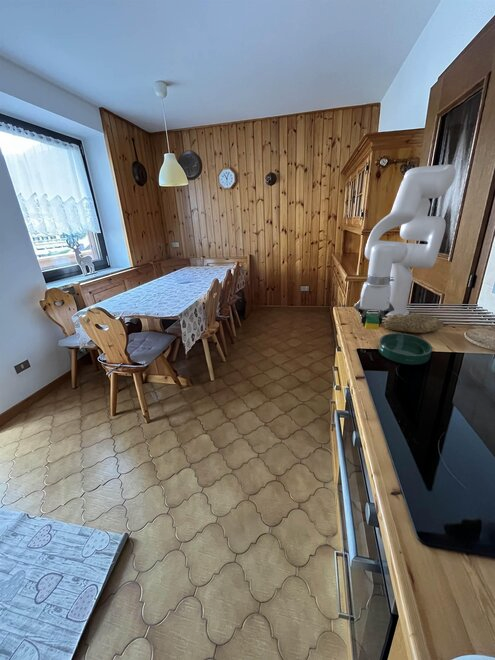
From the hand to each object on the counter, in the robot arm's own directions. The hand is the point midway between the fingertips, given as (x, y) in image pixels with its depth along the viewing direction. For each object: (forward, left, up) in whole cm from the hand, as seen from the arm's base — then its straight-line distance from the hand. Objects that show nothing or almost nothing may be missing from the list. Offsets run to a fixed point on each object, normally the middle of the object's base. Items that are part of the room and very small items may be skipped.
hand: (370, 324), depth 111 cm
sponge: (-8, +17, -5) cm, 20 cm away
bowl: (+12, +10, -5) cm, 16 cm away
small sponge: (0, 0, 0) cm, 0 cm away
